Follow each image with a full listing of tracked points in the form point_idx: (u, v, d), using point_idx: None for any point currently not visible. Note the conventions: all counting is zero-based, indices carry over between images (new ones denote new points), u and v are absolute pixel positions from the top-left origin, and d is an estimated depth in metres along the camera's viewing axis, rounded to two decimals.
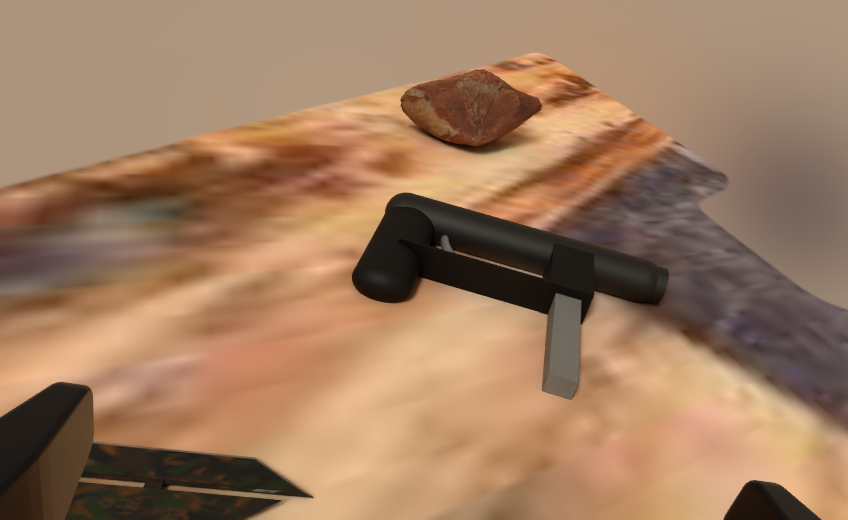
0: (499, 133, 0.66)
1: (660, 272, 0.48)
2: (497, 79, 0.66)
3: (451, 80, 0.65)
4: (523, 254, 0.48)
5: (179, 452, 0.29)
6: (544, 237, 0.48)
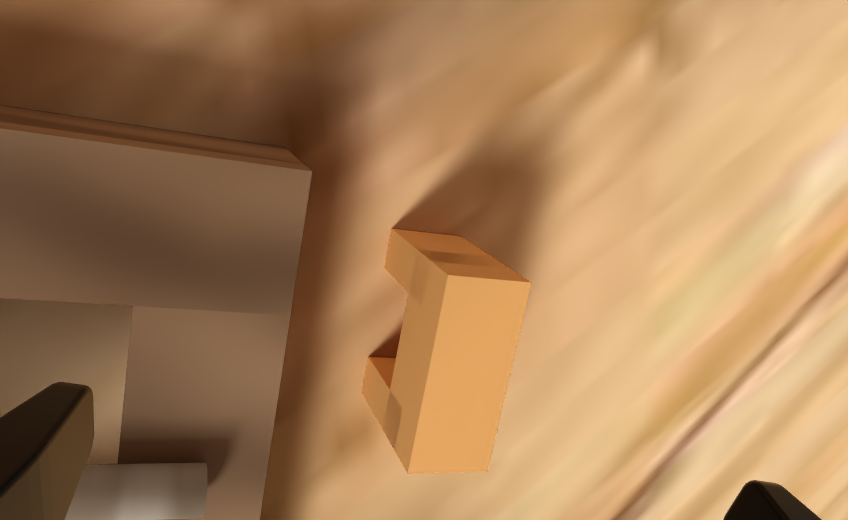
0: None
1: None
2: None
3: None
4: None
5: None
6: None
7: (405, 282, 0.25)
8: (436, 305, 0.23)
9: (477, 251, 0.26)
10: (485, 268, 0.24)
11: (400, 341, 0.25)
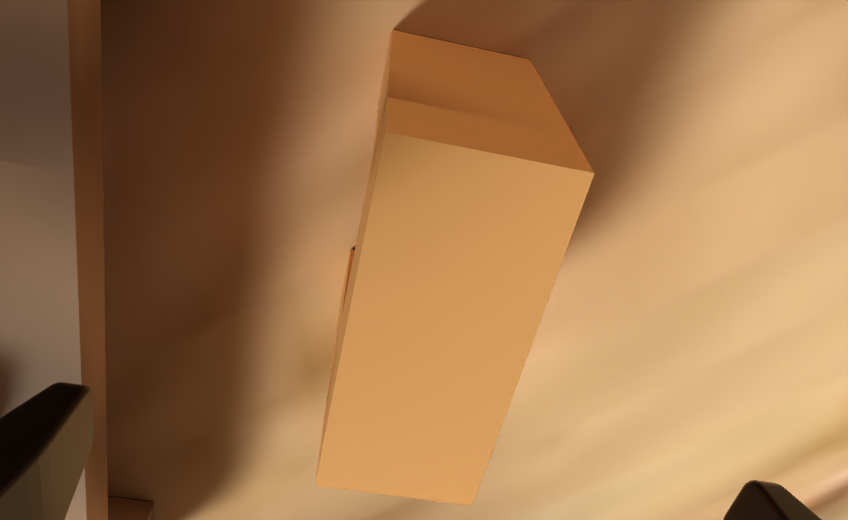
0: None
1: None
2: None
3: None
4: None
5: None
6: None
7: (375, 135, 0.13)
8: (371, 194, 0.10)
9: (532, 90, 0.13)
10: (507, 126, 0.11)
11: (356, 243, 0.14)
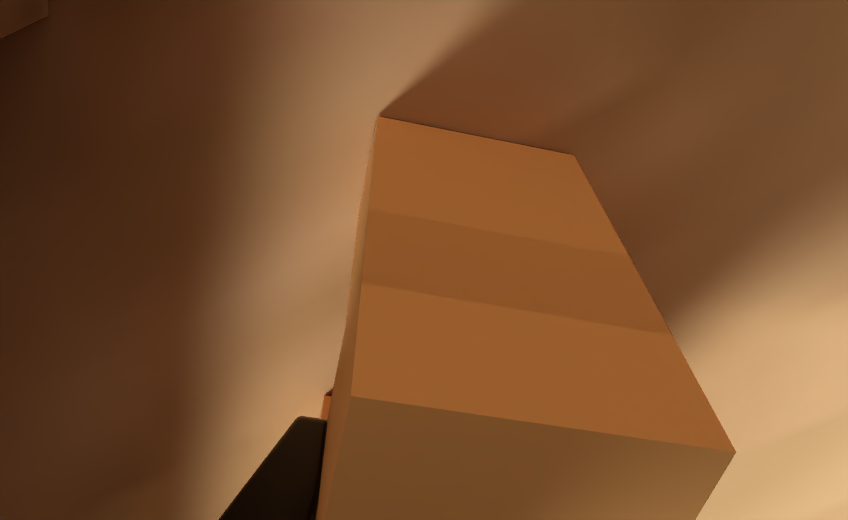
0: None
1: None
2: None
3: None
4: None
5: None
6: None
7: (350, 291, 0.09)
8: (332, 464, 0.06)
9: (588, 224, 0.09)
10: (566, 333, 0.06)
11: None
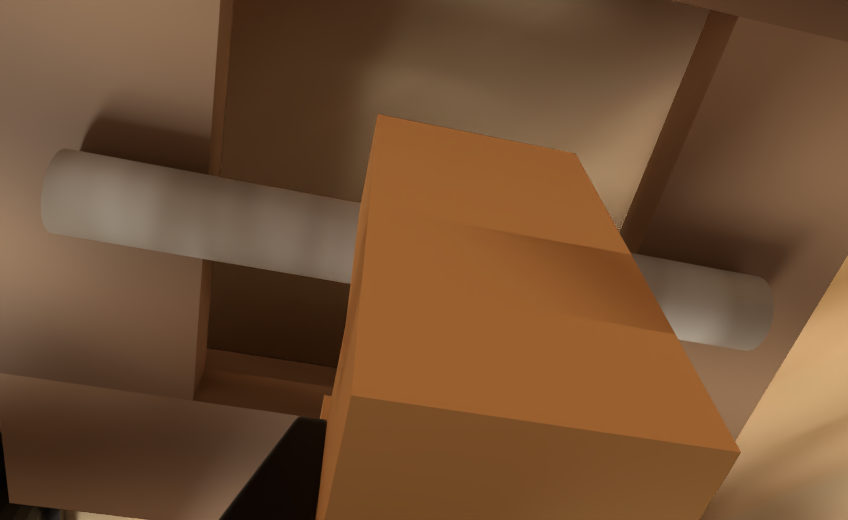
0: None
1: None
2: None
3: None
4: None
5: None
6: None
7: (351, 291, 0.09)
8: (332, 465, 0.06)
9: (590, 222, 0.08)
10: (568, 332, 0.06)
11: None
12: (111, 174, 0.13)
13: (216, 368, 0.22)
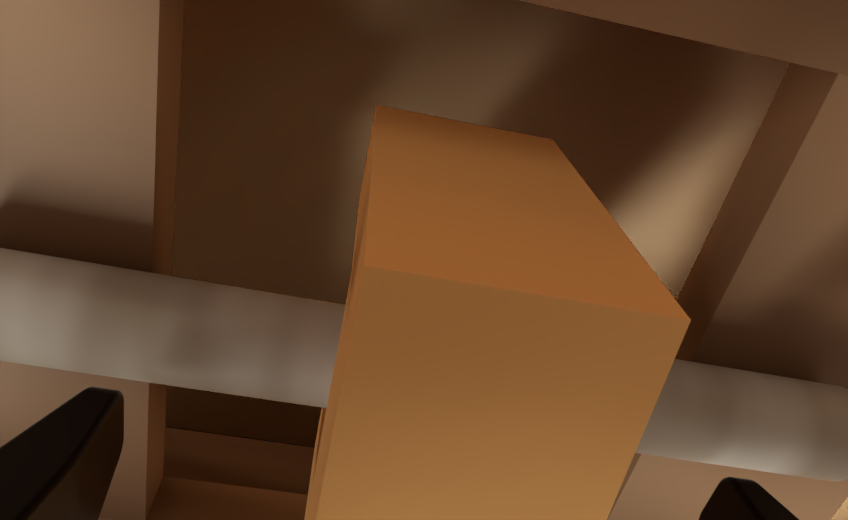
0: None
1: None
2: None
3: None
4: None
5: None
6: None
7: (355, 246, 0.10)
8: (346, 352, 0.07)
9: (565, 182, 0.10)
10: (545, 243, 0.07)
11: (330, 390, 0.10)
12: (18, 280, 0.10)
13: (184, 455, 0.19)
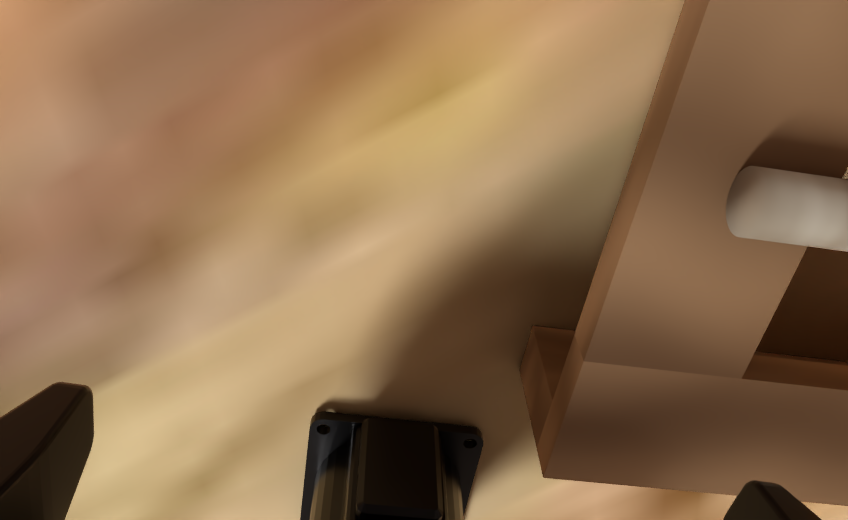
0: None
1: None
2: None
3: None
4: None
5: None
6: None
7: None
8: None
9: None
10: None
11: None
12: (810, 185, 0.15)
13: None
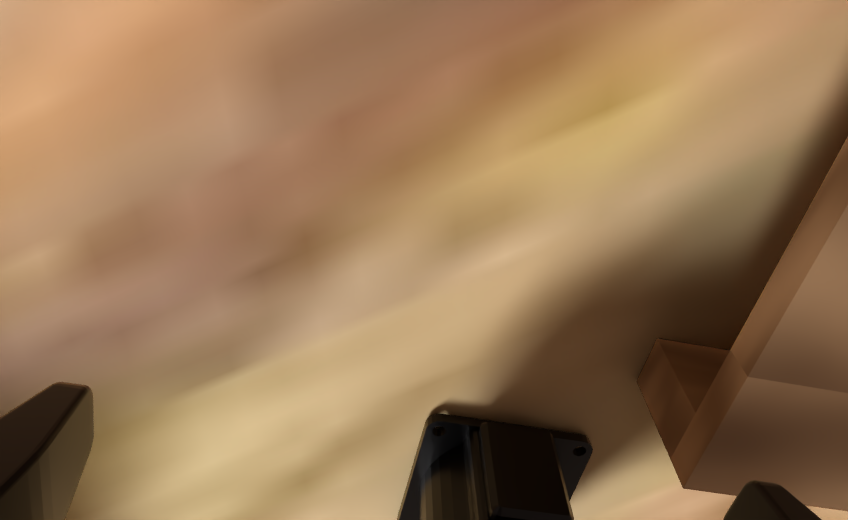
0: None
1: None
2: None
3: None
4: None
5: None
6: None
7: None
8: None
9: None
10: None
11: None
12: None
13: None
